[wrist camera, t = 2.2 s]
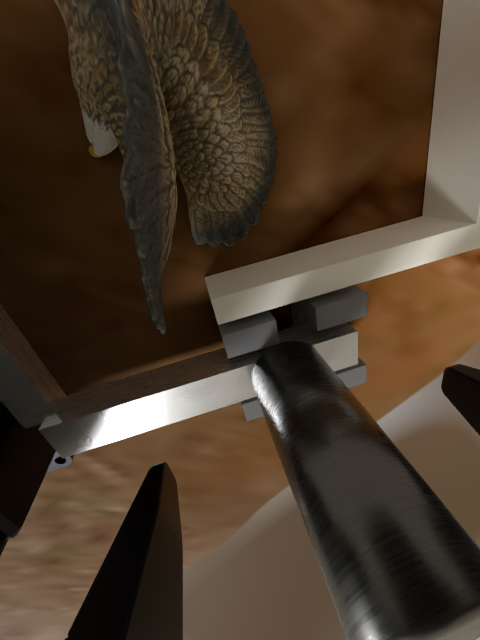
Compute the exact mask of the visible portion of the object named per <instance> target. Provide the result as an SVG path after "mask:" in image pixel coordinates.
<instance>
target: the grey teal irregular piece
mask: <svg viewBox="0 0 480 640" xmlns="http://www.w3.org/2000/svg"><path fill="white" fill-rule="evenodd" d="M278 335H279V341H280V343H278V344H275V345H271V346H268V347H265V348H261V349H258V350H255V351H252V352H248V353H245V354H242V355H239V356H235V357H232V358H229V359H228V356H227V353H226V350H225V347H224V348H221V349H218V350H215V351H211V352H208V353H205V354H201V355H198V356H195V357H191V358H188V359H185V360H182V361H178V362H175V363H172V364H168V365H165V366H162V367H158V368H155V369H152V370H148V371H145V372H142V373H139V374H135V375H132V376H129V377H125V378H122V379H119V380H115V381H112V382H109V383H105V384H102V385H99V386H96V387H92V388H89V389H86V390H82V391H79V392H76V393H72V394H69V395H66V394H65V393H64V392H63V390H62V389H61V387H60V386H59V385H58V383H57V382H56V380H55V379H54V378H53V376H52V375H51V374H50V372H49V371H48V369H47V368H46V367H45V365H44V364H43V362H42V361H41V360H40V358H39V357H38V355H37V354H36V353H35V351H34V350H33V348H32V347H31V346H30V344H29V343H28V341H27V340H26V339H25V337H24V336H23V334H22V333H21V332H20V330H19V329H18V327H17V326H16V325H15V323H14V322H13V320H12V319H11V318H10V316H9V315H8V313H7V312H6V311H5V309H4V308H3V306H2V305H1V304H0V401H1V402H2V403H3V404H4V406H5V407H6V408H7V409H8V410H9V411H10V412H11V414H12V415H13V416H14V417H15V418H16V419H17V420H18V421H19V423H20V424H21V425H22V426H23V427H24V428H25V429H26V428H29V427H32V426H36V425H39V424H42V425H41V426H40V428H39V431H40V433H41V434H42V435H43V436H44V437H45V438H46V440H47V441H48V442H49V443H50V444H51V446H52V447H53V448H54V449H55V450H56V451H57V453H58V454H59V455H60V456H61V457H62V458H65V457H68V456H72V455H75V454H78V453H81V452H84V451H87V450H90V449H93V448H97V447H100V446H103V445H106V444H109V443H112V442H115V441H118V440H122V439H125V438H128V437H131V436H134V435H137V434H140V433H144V432H147V431H150V430H153V429H156V428H159V427H162V426H165V425H169V424H172V423H175V422H178V421H181V420H184V419H187V418H190V417H194V416H197V415H200V414H203V413H206V412H209V411H212V410H215V409H219V408H222V407H225V406H228V405H231V404H234V403H237V402H241V401H244V400H247V399H250V398H253V397H256V396H257V398H258V401H259V403H260V406H261V409H262V411H263V414H264V417H265V420H266V422H267V425H268V428H269V430H270V433H271V436H272V438H273V441H274V444H275V447H276V449H277V452H278V455H279V457H280V460H281V463H282V465H283V468H284V471H285V473H286V476H287V479H288V482H289V484H290V487H291V490H292V492H293V495H294V498H295V500H296V503H297V506H298V508H299V511H300V514H301V516H302V519H303V522H304V524H305V527H306V530H307V533H308V535H309V538H310V541H311V543H312V546H313V549H314V552H315V554H316V557H317V559H318V562H319V565H320V568H321V570H322V573H323V576H324V579H325V581H326V584H327V587H328V589H329V592H330V595H331V597H332V600H333V603H334V605H335V608H336V611H337V614H338V616H339V619H340V622H341V624H342V627H343V630H344V632H345V635H346V638H347V640H476V639H477V638H479V637H480V547H479V546H478V544H477V543H476V542H475V541H474V540H473V538H472V537H471V536H470V535H469V534H468V532H467V531H466V530H465V529H464V528H463V526H462V525H461V524H460V523H459V522H458V520H457V519H456V518H455V517H454V516H453V514H452V513H451V512H450V511H449V509H448V508H447V507H446V506H445V505H444V503H443V502H442V501H441V500H440V499H439V497H438V496H437V495H436V494H435V493H434V492H433V490H432V489H431V488H430V487H429V485H428V484H427V483H426V482H425V481H424V479H423V478H422V477H421V476H420V475H419V473H418V472H417V471H416V470H415V469H414V467H413V466H412V465H411V464H410V462H409V461H408V460H407V459H406V458H405V457H404V455H403V454H402V453H401V452H400V451H399V449H398V448H397V447H396V446H395V444H394V443H393V442H392V441H391V440H390V438H389V437H388V436H387V435H386V433H385V432H384V431H383V430H382V429H381V428H380V426H379V425H378V424H377V423H376V421H375V420H374V419H373V418H372V417H371V415H370V414H369V413H368V412H367V411H366V409H365V408H364V407H363V406H362V405H361V403H360V402H359V401H358V400H357V398H356V397H355V396H354V395H353V394H352V392H351V391H350V390H349V389H348V388H347V386H346V385H345V384H344V383H343V382H342V380H341V379H340V378H339V377H338V376H337V374H336V373H335V372H334V371H337V370H341V369H344V368H347V367H350V366H353V365H356V364H358V331H357V330H355V329H354V328H353V327H352V326H351V325H349V324H348V323H347V322H346V323H343V324H340V325H337V326H333V327H330V328H327V329H324V330H320V331H317V330H316V329H315V328H314V327H313V326H312V325H311V324H310V323H309V322H307V323H304V324H300V325H297V326H294V327H291V328H287V329H284V330H281V331H278Z"/></svg>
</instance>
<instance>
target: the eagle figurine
mask: <svg viewBox="0 0 480 640" xmlns="http://www.w3.org/2000/svg"><path fill="white" fill-rule="evenodd" d="M54 1H55V3H56V4H57V6H58V8H59V10H60V12H61V14H62V17H63V20H64V22H65V25H66V29H67V32H68V37H69V46H68V51H69V61H70V69H71V75H72V80H73V84H74V88H75V90H76V92H77V94H78V99H79V103H80V106H81V110H82V114H83V119H84V125H85V130H86V135H87V137H88V140H89V142H90V144H91V146H90V147H89V149H88V150H89V152H90V154H91V155H92V156H93V157H96V158H99V157H102V156H104V155H107V154H108V153H110V152H112V151H113V150H114V149H115V148H116V147H117V146H118V145H119V148H120V150H121V153H122V156H123V159H124V163H123V166H122V169H121V176H120V192H121V194H122V196H123V197H124V199H125V203H126V204H125V219H126V222H127V224H128V226H129V227H130V228H131V229H133V232H134V250H135V251H136V253H137V255H138V264H139V269H140V274H141V281H142V284H143V288H144V292H145V296H146V301H147V306H148V310H149V314H150V317H151V319H152V321H153V324H154V326H155V328H157V329H158V330H159V332H160V333H161V334H164V333H165V332H166V325H165V319H164V316H163V315H164V310H163V305H162V300H161V287H162V279H163V271H164V268H165V265H166V263H167V260H168V257H169V253H170V249H171V243H172V234H173V229H174V226H175V220H176V212H177V186H176V170H175V167H176V169H177V172H178V175H179V177H180V179H181V182H182V184H183V186H184V189H185V193H186V196H187V205H188V215H189V220H190V223H191V232H192V235H193V237H194V241H195V243H196V244H198V245H202V244H204V243H207V244H209V245H210V246H211V247H213V248H215V247H217V246H219V245H220V244H221V242H222V243H223V244H224V245H225V246H228V247H231V246H234V244H235V243H236V240H244V239H245V238H246V237H247V236H248V232H249V228H250V226H254V225H256V224H257V223H258V220H259V216H260V208H259V205H260V204H265V203H266V201H267V200H268V188H271V186H272V184H273V183H274V174H275V163H274V162H275V159H276V157H277V150H276V147H275V140H276V134H275V130H274V128H273V126H272V117H271V114H270V109H269V105H268V102H267V100H266V99H265V98H264V97H263V93H264V88H263V86H262V83H261V81H260V77H259V72H258V68H257V66H256V64H255V63H254V61H253V60H252V51H251V47H250V45H249V43H248V41H247V36H246V34H245V31H244V29H243V28H242V27H241V25H240V24H239V21H238V17H237V15H236V12H235V11H234V10H232V9H231V8H230V6H229V5H228V3H227V0H54Z"/></svg>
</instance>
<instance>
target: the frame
mask: <svg viewBox="0 0 480 640" xmlns="http://www.w3.org/2000/svg"><path fill="white" fill-rule="evenodd" d="M477 248H480V0H444V1H443V11H442V21H441V31H440V42H439V52H438V62H437V72H436V82H435V92H434V102H433V112H432V122H431V132H430V143H429V153H428V163H427V173H426V183H425V193H424V203H423V213H422V216H421V217H417V218H414V219H410V220H407V221H403V222H399V223H396V224H392V225H389V226H385V227H382V228H378V229H375V230H371V231H367V232H364V233H360V234H357V235H353V236H350V237H346V238H342V239H339V240H335V241H332V242H328V243H325V244H321V245H318V246H314V247H310V248H307V249H303V250H300V251H296V252H293V253H289V254H285V255H282V256H278V257H275V258H271V259H268V260H264V261H260V262H257V263H253V264H250V265H246V266H243V267H239V268H236V269H232V270H228V271H225V272H221V273H218V274H214V275H211V276H207V277H204V278H205V282H206V285H207V289H208V292H209V296H210V299H211V303H212V306H213V309H214V313H215V316H216V319H217V323H218V325H220V324H223V323H227V322H230V321H233V320H237V319H240V318H243V317H247V316H250V315H254V314H257V313H260V312H264V311H267V310H271V309H274V308H277V307H281V306H284V305H287V304H291V303H294V302H298V301H301V300H304V299H308V298H311V297H315V296H318V295H321V294H325V293H328V292H331V291H335V290H338V289H342V288H345V287H348V286H352V285H355V284H359V283H362V282H365V281H369V280H372V279H375V278H379V277H382V276H386V275H389V274H392V273H396V272H399V271H402V270H406V269H409V268H413V267H416V266H419V265H423V264H426V263H430V262H433V261H436V260H440V259H443V258H446V257H450V256H453V255H457V254H460V253H463V252H467V251H470V250H474V249H477Z"/></svg>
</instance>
